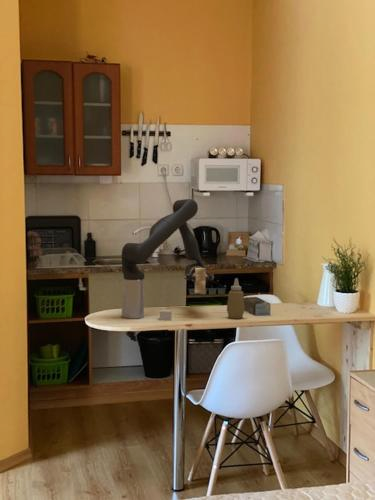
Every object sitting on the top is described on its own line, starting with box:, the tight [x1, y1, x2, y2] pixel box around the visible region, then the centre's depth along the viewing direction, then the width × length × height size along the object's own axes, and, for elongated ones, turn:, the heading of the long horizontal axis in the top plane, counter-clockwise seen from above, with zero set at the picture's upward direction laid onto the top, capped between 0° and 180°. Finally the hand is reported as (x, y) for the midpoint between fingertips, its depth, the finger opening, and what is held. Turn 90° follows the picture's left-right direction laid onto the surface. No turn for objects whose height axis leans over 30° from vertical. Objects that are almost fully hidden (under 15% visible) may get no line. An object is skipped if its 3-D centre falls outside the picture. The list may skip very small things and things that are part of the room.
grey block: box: [159, 309, 173, 321], centre depth 285 cm, size 5×5×4 cm
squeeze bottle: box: [226, 277, 246, 320], centre depth 291 cm, size 8×8×18 cm
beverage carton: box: [244, 296, 271, 317], centre depth 308 cm, size 8×19×7 cm, turn 14°
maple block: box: [194, 268, 207, 294], centre depth 290 cm, size 4×4×11 cm
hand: (200, 279), depth 287 cm, fingers closed on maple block, 4 cm apart
